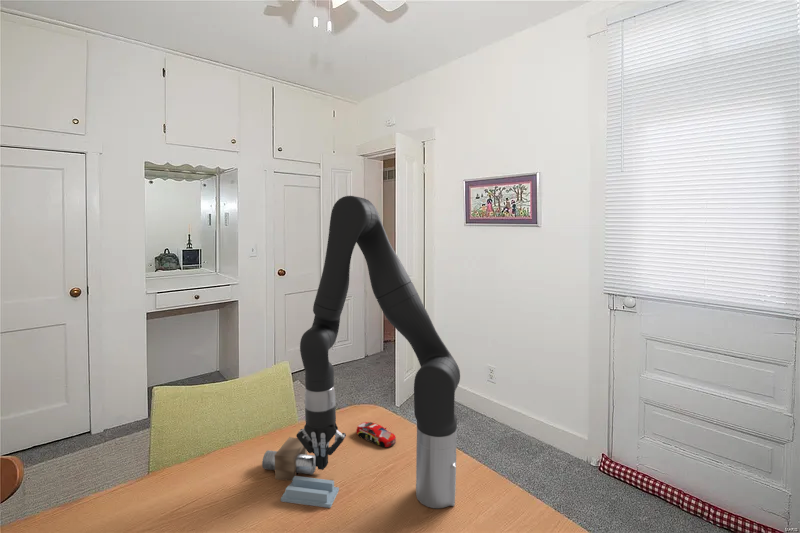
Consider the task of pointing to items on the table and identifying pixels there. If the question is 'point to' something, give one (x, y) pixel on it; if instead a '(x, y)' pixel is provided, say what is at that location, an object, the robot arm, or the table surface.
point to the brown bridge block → (288, 459)
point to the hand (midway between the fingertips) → (321, 467)
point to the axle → (303, 462)
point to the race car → (376, 434)
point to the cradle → (311, 492)
